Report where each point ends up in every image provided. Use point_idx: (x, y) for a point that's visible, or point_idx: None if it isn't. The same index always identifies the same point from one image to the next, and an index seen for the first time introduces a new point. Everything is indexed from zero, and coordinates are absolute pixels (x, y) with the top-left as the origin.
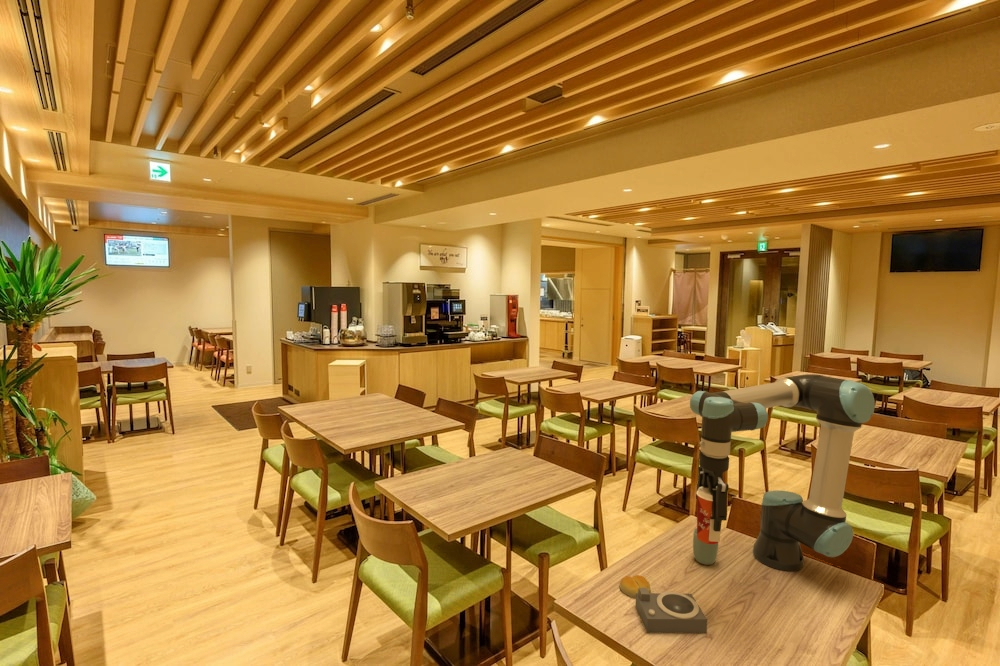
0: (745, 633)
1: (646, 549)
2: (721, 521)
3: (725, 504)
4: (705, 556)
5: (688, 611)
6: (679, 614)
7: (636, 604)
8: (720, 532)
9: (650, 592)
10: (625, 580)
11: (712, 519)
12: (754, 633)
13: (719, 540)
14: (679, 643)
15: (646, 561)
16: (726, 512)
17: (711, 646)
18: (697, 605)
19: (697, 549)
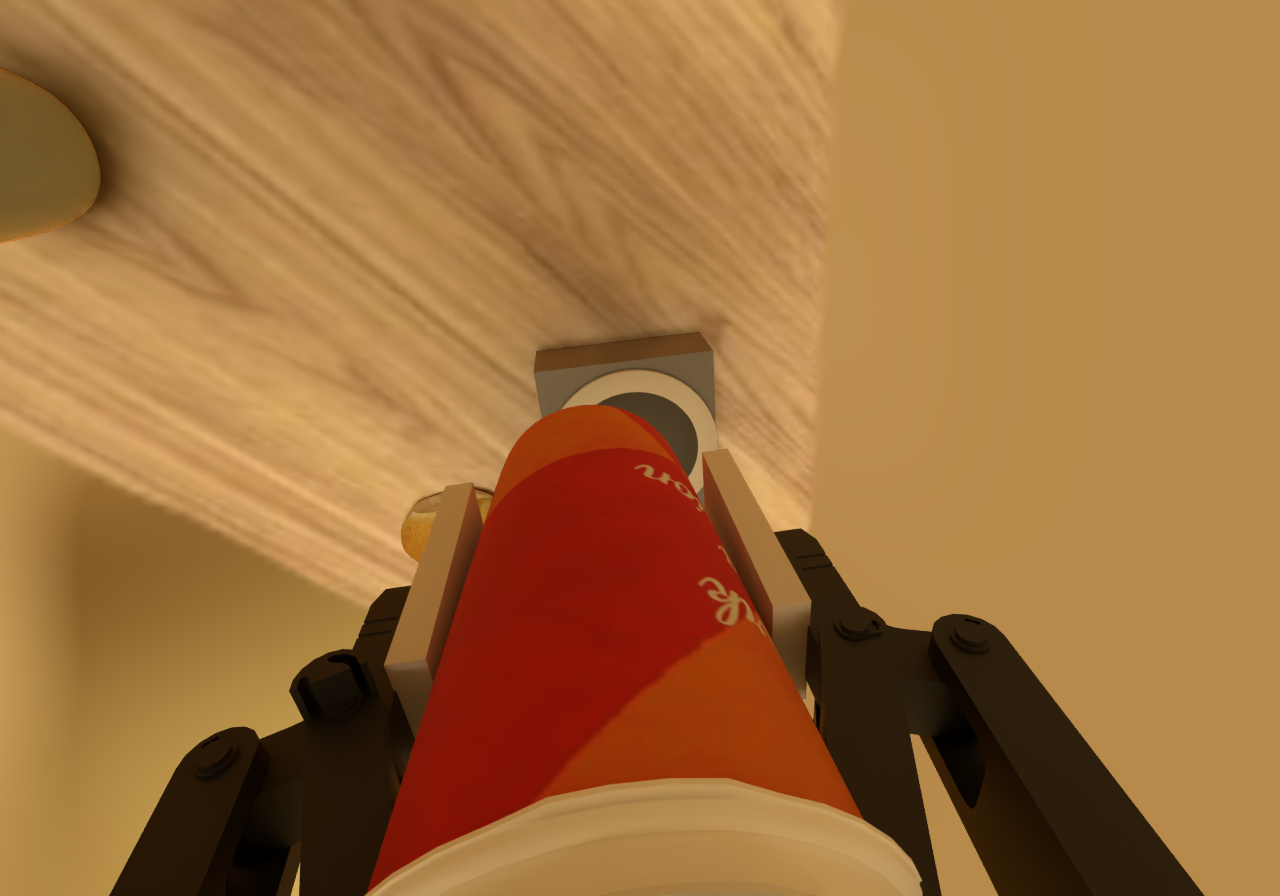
0: (691, 159)
1: (73, 457)
2: (686, 519)
3: (1176, 893)
4: (75, 175)
5: (682, 421)
6: (701, 458)
7: None
8: (752, 495)
9: (489, 497)
10: None
11: (800, 679)
12: (688, 111)
13: (730, 457)
14: (752, 438)
15: (208, 472)
16: (1068, 723)
17: (767, 334)
18: (637, 374)
19: (42, 228)
